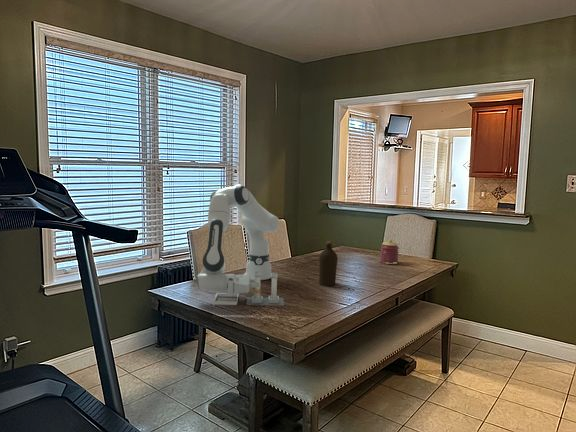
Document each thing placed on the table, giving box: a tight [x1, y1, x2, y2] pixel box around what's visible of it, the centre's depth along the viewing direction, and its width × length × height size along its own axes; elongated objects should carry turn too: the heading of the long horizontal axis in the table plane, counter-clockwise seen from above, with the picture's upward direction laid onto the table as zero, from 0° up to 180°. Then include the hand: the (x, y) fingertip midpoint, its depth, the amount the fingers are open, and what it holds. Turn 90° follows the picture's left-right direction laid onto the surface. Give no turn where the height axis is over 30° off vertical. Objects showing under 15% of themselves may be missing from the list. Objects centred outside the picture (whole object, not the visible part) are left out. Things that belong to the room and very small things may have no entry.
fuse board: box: [246, 294, 285, 306], centre depth 216 cm, size 12×18×3 cm, turn 93°
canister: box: [379, 238, 400, 263], centre depth 319 cm, size 13×13×18 cm
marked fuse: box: [254, 272, 261, 298], centre depth 215 cm, size 3×3×14 cm
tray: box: [213, 292, 240, 306], centre depth 215 cm, size 13×11×2 cm
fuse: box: [270, 272, 278, 299], centre depth 215 cm, size 3×3×14 cm
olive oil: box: [318, 240, 338, 287], centre depth 254 cm, size 11×11×25 cm
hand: (259, 283), depth 215 cm, fingers closed on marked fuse, 3 cm apart
